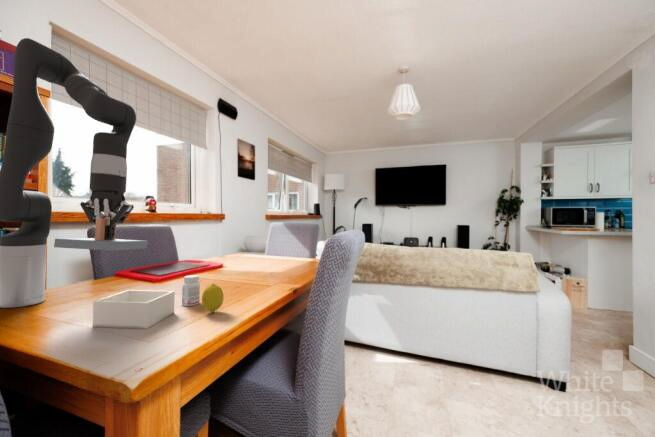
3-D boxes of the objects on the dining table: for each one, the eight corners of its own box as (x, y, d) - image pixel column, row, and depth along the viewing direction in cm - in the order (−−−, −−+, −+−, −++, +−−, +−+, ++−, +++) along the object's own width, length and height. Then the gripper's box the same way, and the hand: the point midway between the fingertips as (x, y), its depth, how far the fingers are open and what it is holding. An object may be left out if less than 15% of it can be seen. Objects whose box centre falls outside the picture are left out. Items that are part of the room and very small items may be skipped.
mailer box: (92, 326, 65) (93, 301, 65) (128, 311, 76) (128, 289, 76) (145, 328, 65) (146, 303, 65) (174, 313, 76) (174, 291, 76)
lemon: (214, 308, 81) (215, 280, 81) (227, 311, 78) (228, 283, 78) (197, 313, 76) (197, 284, 76) (210, 317, 73) (210, 287, 73)
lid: (53, 247, 67) (57, 215, 67) (98, 245, 79) (101, 218, 80) (111, 250, 66) (114, 218, 67) (147, 248, 79) (149, 221, 79)
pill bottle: (202, 302, 86) (203, 275, 86) (193, 306, 82) (194, 278, 82) (188, 301, 87) (188, 274, 87) (178, 305, 82) (179, 277, 82)
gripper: (70, 170, 70) (67, 239, 70) (122, 172, 69) (118, 242, 69) (96, 175, 77) (93, 237, 77) (143, 177, 76) (140, 239, 76)
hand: (105, 239), depth 73 cm, fingers closed on lid, 1 cm apart
